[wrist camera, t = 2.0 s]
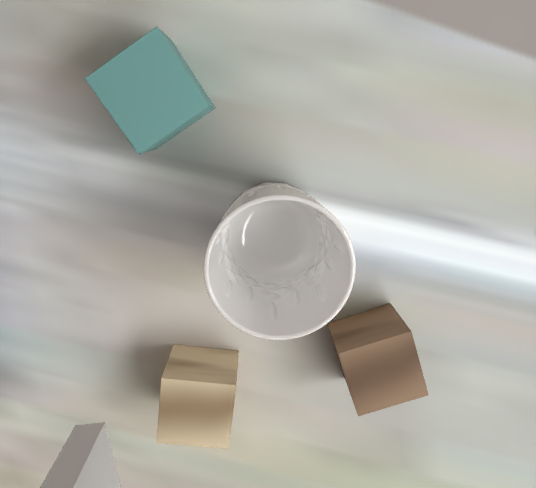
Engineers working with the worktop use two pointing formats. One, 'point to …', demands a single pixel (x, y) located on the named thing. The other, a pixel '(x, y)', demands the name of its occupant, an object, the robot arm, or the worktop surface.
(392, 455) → the worktop surface
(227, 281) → the white cup
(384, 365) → the walnut block
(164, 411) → the maple block
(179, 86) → the teal painted block
